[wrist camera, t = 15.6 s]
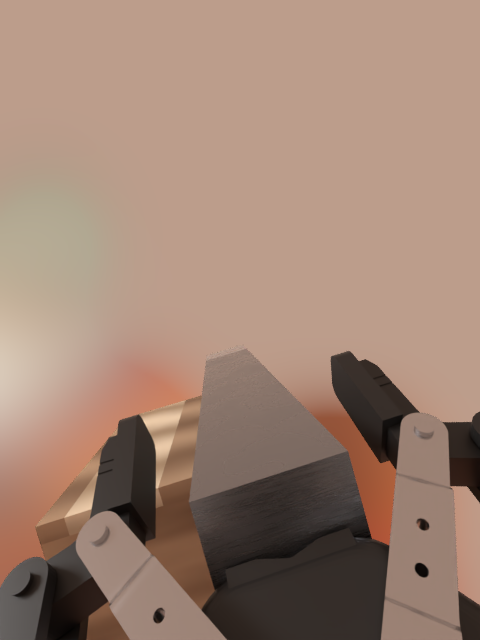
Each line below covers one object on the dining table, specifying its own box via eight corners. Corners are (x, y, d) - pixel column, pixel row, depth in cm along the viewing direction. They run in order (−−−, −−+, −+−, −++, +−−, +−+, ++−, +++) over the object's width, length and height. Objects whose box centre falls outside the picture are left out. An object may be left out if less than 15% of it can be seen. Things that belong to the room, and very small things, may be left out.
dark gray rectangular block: (389, 602, 8) (347, 450, 8) (235, 659, 8) (189, 502, 8) (252, 380, 36) (242, 344, 36) (216, 390, 36) (206, 355, 36)
